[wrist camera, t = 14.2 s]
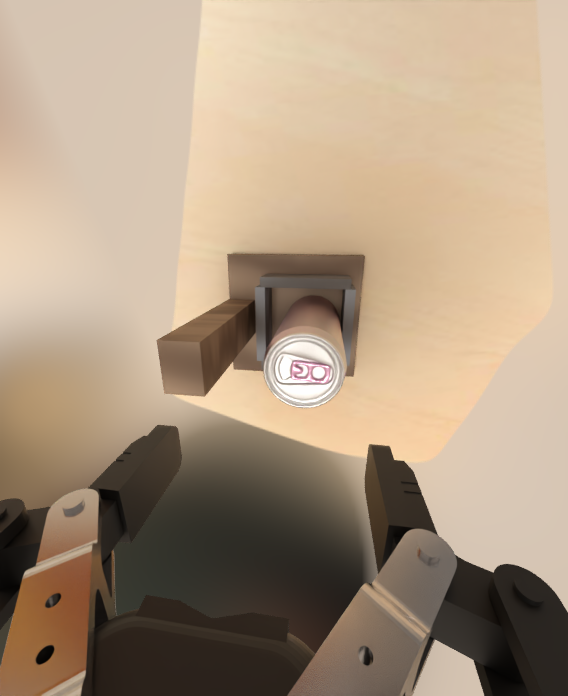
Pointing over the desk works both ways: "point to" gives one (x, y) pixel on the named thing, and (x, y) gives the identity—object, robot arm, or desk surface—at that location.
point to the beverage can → (306, 355)
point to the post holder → (258, 316)
